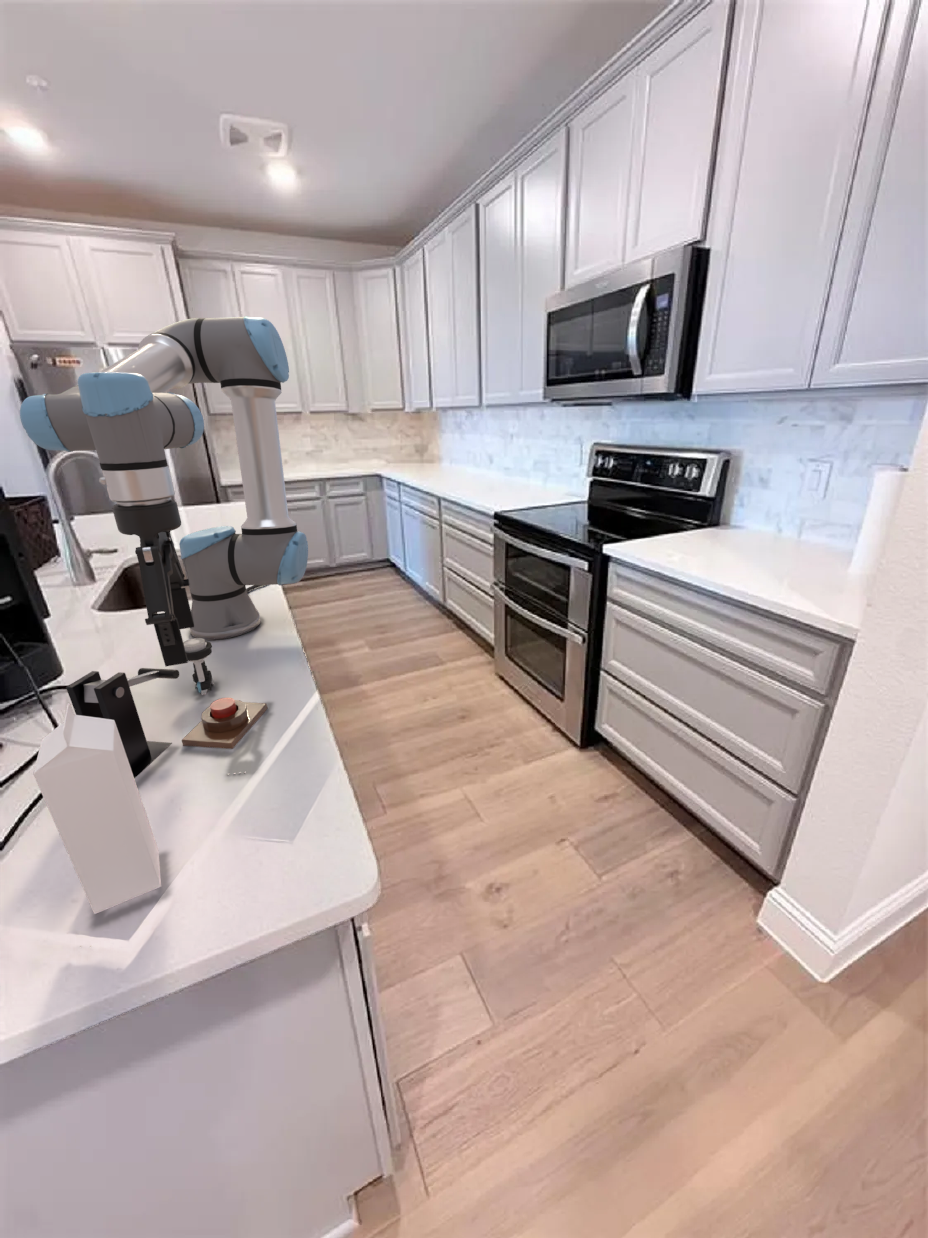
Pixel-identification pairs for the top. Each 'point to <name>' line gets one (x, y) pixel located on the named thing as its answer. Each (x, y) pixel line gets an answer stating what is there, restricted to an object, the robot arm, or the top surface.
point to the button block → (225, 726)
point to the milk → (98, 810)
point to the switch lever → (131, 680)
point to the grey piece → (199, 663)
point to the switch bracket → (118, 716)
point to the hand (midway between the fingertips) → (181, 644)
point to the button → (223, 708)
